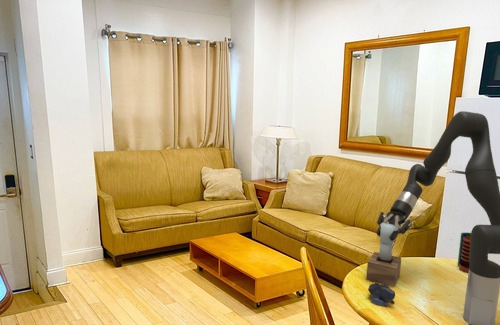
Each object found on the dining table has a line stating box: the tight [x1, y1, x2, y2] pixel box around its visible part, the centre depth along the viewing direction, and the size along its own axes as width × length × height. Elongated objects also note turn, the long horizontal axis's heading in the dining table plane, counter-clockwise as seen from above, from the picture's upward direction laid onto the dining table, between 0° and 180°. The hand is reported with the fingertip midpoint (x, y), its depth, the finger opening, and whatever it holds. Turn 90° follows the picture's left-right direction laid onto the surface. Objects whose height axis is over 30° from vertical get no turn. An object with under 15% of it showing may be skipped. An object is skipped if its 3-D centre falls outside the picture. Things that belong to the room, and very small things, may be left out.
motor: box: [456, 232, 471, 274], centre depth 167 cm, size 10×9×20 cm
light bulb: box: [378, 222, 395, 260], centre depth 156 cm, size 5×5×14 cm
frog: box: [367, 280, 396, 308], centre depth 140 cm, size 9×11×7 cm
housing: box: [365, 251, 402, 288], centre depth 158 cm, size 12×11×8 cm
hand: (384, 237), depth 155 cm, fingers closed on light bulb, 5 cm apart
